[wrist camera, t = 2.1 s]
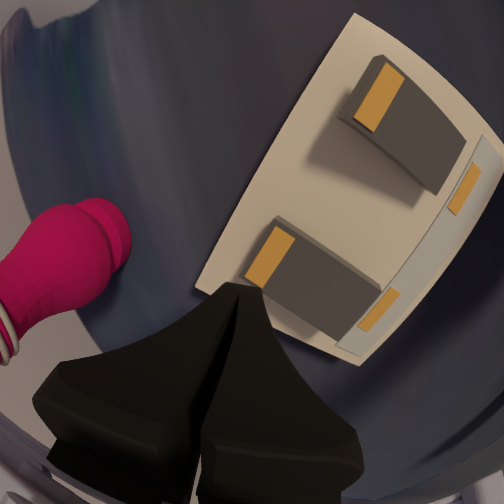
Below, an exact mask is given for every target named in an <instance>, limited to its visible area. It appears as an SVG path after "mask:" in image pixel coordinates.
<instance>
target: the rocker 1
mask: <svg viewBox="0 0 504 504" xmlns="http://www.w3.org/2000/svg"><path fill="white" fill-rule="evenodd" d="M238 277H239V278H241V279H242V280H244V281H245V282H247V283H248V284H250V285H251V286H254V287H260V288H261V289H262V291H263V294H264V295H266V296H268V297H269V298H271V299H272V300H274V301H275V302H277V303H278V304H280V305H281V306H283V307H284V308H286V309H287V310H289V311H290V312H292V313H293V314H295V315H296V316H298V317H299V318H301V319H303V320H304V321H306V322H307V323H309V324H310V325H312V326H313V327H315V328H317V329H318V330H320V331H321V332H323V333H324V334H326V335H328V336H329V337H331V338H332V339H334V340H335V341H337V342H338V341H339V340H340V339H341V338H342V337H343V336H344V335H345V334H346V333H347V332H348V331H349V330H350V328H351V327H352V326H353V325H354V324H355V323H356V322H357V321H358V320H359V318H360V317H361V316H362V315H363V314H364V313H365V312H366V310H367V309H368V308H369V307H370V306H371V305H372V303H373V302H374V301H375V300H376V299H377V297H378V296H379V295H380V294H381V293H382V290H381V287H380V284H378V283H377V282H376V281H374V280H373V279H371V278H370V277H369V276H367V275H366V274H364V273H363V272H362V271H360V270H359V269H357V268H356V267H354V266H353V265H352V264H350V263H349V262H347V261H346V260H344V259H343V258H342V257H340V256H339V255H337V254H336V253H334V252H333V251H331V250H330V249H328V248H327V247H326V246H324V245H323V244H321V243H320V242H318V241H317V240H315V239H314V238H312V237H311V236H309V235H308V234H306V233H305V232H303V231H302V230H300V229H299V228H297V227H296V226H294V225H293V224H291V223H290V222H288V221H286V220H285V219H283V218H282V217H280V216H279V215H277V216H276V217H275V218H274V219H273V220H272V222H271V224H270V225H269V227H268V229H267V230H266V232H265V233H264V235H263V237H262V238H261V240H260V242H259V243H258V245H257V247H256V248H255V250H254V252H253V253H252V255H251V256H250V258H249V260H248V261H247V263H246V265H245V266H244V268H243V270H242V271H241V273H240V274H239V276H238Z"/></svg>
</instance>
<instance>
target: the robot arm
mask: <svg viewBox="0 0 504 504" xmlns="http://www.w3.org/2000/svg"><path fill="white" fill-rule="evenodd" d="M32 402H33V405H34V408H35V410H36V412H37V413H38V415H39V416H40V418H41V419H42V420H43V422H44V423H45V424H46V426H47V427H48V428H49V429H50V430H51V432H52V433H53V434H54V436H55V437H56V438H57V440H56V442H55V443H54V445H53V447H52V448H51V449H49V448H48V447H46V446H45V445H43V444H42V443H40V442H39V441H37V440H36V439H35V438H33V437H32V436H30V435H29V434H28V433H26V432H25V431H23V430H22V429H21V428H20V427H18V426H17V425H16V424H14V423H13V422H12V421H11V420H9V419H8V418H7V417H6V416H4V414H2V413H1V412H0V504H90V503H88V502H86V501H85V500H83V499H82V498H80V497H79V496H77V495H76V494H75V493H74V492H72V491H71V490H69V489H68V488H66V487H64V486H63V485H61V484H60V483H58V482H57V481H55V480H54V479H52V475H51V473H52V474H54V475H55V476H57V477H58V478H60V479H62V480H63V481H65V482H67V483H68V484H70V485H72V486H73V487H75V488H77V489H79V490H81V491H82V492H84V493H86V494H88V495H90V496H92V497H94V498H96V499H98V500H100V501H103V502H105V503H107V504H190V499H191V495H192V490H193V485H194V480H195V476H196V472H197V467H198V463H199V459H200V454H201V468H202V471H201V474H200V478H199V482H198V486H197V490H196V496H198V502H199V504H341V492H342V491H343V490H345V489H346V488H348V487H349V486H350V485H352V484H353V483H354V482H356V481H357V480H358V479H359V478H360V477H361V476H362V474H363V473H364V460H363V453H362V450H361V446H360V442H359V439H358V436H357V433H356V430H355V429H354V428H353V427H352V426H350V425H349V424H348V423H347V422H346V421H344V420H343V419H342V418H341V417H340V416H338V415H337V414H336V413H335V412H334V411H333V410H331V409H330V408H329V407H328V406H327V405H326V404H325V403H324V402H323V401H322V400H321V399H320V398H319V397H318V396H317V395H316V393H315V392H314V391H313V390H312V389H311V387H310V386H309V385H308V384H307V383H306V381H305V380H304V379H303V378H302V376H301V375H300V374H299V373H298V371H297V370H296V368H295V367H294V365H293V364H292V362H291V361H290V359H289V358H288V356H287V354H286V353H285V351H284V349H283V347H282V346H281V344H280V342H279V340H278V338H277V336H276V333H275V331H274V329H273V327H272V324H271V322H270V319H269V316H268V314H267V310H266V307H265V303H264V299H263V291H262V289H261V288H260V287H254V286H248V285H243V284H237V283H231V282H225V283H223V284H222V285H221V286H220V287H219V288H218V289H217V290H216V291H215V292H214V293H212V294H211V295H210V296H209V297H208V298H207V299H206V300H204V301H203V302H202V303H201V304H199V305H198V306H197V307H196V308H194V309H193V310H192V311H190V312H189V313H187V314H186V315H185V316H183V317H182V318H180V319H179V320H177V321H176V322H174V323H173V324H171V325H170V326H168V327H166V328H164V329H163V330H161V331H159V332H157V333H155V334H153V335H151V336H149V337H146V338H144V339H142V340H139V341H137V342H135V343H132V344H130V345H127V346H125V347H122V348H119V349H116V350H113V351H109V352H106V353H102V354H98V355H94V356H90V357H85V358H80V359H75V360H70V361H63V362H60V363H59V364H58V365H57V366H56V367H55V368H54V370H53V371H52V372H51V373H50V374H49V376H48V377H47V378H46V380H45V381H44V382H43V384H42V385H41V386H40V388H39V389H38V390H37V391H36V393H35V394H34V396H33V398H32ZM50 472H51V473H50ZM428 504H504V477H503V474H502V471H501V470H498V471H496V472H494V473H492V474H490V475H488V476H486V477H484V478H482V479H480V480H478V481H476V482H474V483H473V484H471V485H470V486H468V487H466V488H465V489H463V491H462V492H459V493H457V494H454V495H451V496H449V497H446V498H443V499H440V500H437V501H434V502H431V503H428Z"/></svg>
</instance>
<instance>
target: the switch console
mask: <svg viewBox="0 0 504 504" xmlns="http://www.w3.org/2000/svg"><path fill="white" fill-rule="evenodd" d="M382 54H383V55H384V56H386V57H387V58H388V59H389V60H390V61H392V62H393V63H394V64H395V65H396V66H397V67H398V68H400V69H401V70H402V71H403V72H404V73H405V74H406V75H407V76H408V77H409V78H410V79H412V80H413V81H414V82H415V83H416V84H417V85H418V86H419V87H420V88H421V89H422V90H423V91H424V92H425V93H426V94H427V95H428V96H429V97H430V98H431V100H432V101H433V102H434V103H435V104H436V105H437V106H438V107H439V108H440V109H441V111H442V112H443V113H444V114H445V115H446V116H447V117H448V119H449V120H450V121H451V122H452V123H453V125H454V126H455V127H456V128H457V129H458V131H459V132H460V133H461V135H462V136H463V137H464V138H465V140H466V141H467V142H466V144H465V146H464V148H463V150H462V152H461V154H460V156H459V158H458V159H457V161H456V163H455V165H454V167H453V169H452V170H451V172H450V174H449V176H448V177H447V179H446V181H445V183H444V184H443V186H442V188H441V189H440V191H439V193H438V194H437V196H435V195H433V194H431V193H430V192H428V191H426V190H425V189H424V188H423V187H422V186H421V185H420V184H419V183H418V182H417V181H416V180H415V179H413V178H412V177H411V176H410V175H409V174H408V173H407V172H406V171H405V170H403V169H402V168H401V167H400V166H399V165H398V164H397V163H395V162H394V161H393V160H392V159H391V158H389V157H388V156H387V155H386V154H385V153H383V152H382V151H381V150H380V149H378V148H377V147H376V146H375V145H373V144H372V143H371V142H369V141H368V140H367V139H366V138H364V137H363V136H362V135H360V134H359V133H358V132H356V131H355V130H353V129H352V128H351V127H349V126H348V125H346V124H345V123H344V122H342V121H341V120H339V119H338V118H336V117H337V116H338V114H339V112H340V111H341V109H342V107H343V106H344V104H345V103H346V101H347V99H348V98H349V96H350V94H351V93H352V91H353V89H354V88H355V86H356V84H357V83H358V81H359V79H360V78H361V76H362V74H363V73H364V71H365V70H366V68H367V66H368V65H369V63H370V61H371V60H372V58H373V57H374V56H378V55H382ZM503 172H504V145H503V143H502V142H501V141H500V139H499V138H498V137H497V135H496V134H495V133H494V132H493V130H492V129H491V128H490V127H489V125H488V124H487V123H486V122H485V120H484V119H483V118H482V117H481V116H480V115H479V113H478V112H477V111H476V110H475V109H474V108H473V107H472V106H471V105H470V104H469V102H468V101H467V100H466V99H465V98H464V97H463V96H462V95H461V94H460V93H459V92H458V91H457V90H456V89H455V88H454V87H453V86H452V85H451V84H450V83H449V82H448V81H447V80H446V79H444V78H443V77H442V76H441V75H440V74H439V73H438V72H437V71H436V70H434V69H433V68H432V67H431V66H430V65H429V64H427V63H426V62H425V61H424V60H423V59H421V58H420V57H419V56H418V55H416V54H415V53H414V52H413V51H411V50H410V49H409V48H407V47H406V46H405V45H403V44H402V43H401V42H399V41H398V40H396V39H395V38H394V37H392V36H391V35H389V34H388V33H386V32H385V31H383V30H382V29H380V28H379V27H377V26H376V25H374V24H372V23H371V22H369V21H368V20H366V19H364V18H363V17H361V16H359V15H357V14H356V13H354V14H353V16H352V17H351V19H350V20H349V22H348V23H347V25H346V26H345V28H344V29H343V31H342V32H341V34H340V35H339V37H338V38H337V40H336V41H335V43H334V45H333V46H332V48H331V49H330V51H329V52H328V54H327V55H326V57H325V59H324V60H323V62H322V63H321V65H320V66H319V68H318V70H317V71H316V73H315V74H314V76H313V78H312V79H311V81H310V82H309V84H308V86H307V87H306V89H305V90H304V92H303V94H302V95H301V97H300V99H299V100H298V102H297V103H296V105H295V107H294V108H293V110H292V112H291V113H290V115H289V117H288V118H287V120H286V122H285V123H284V125H283V127H282V129H281V130H280V132H279V134H278V135H277V137H276V139H275V140H274V142H273V144H272V146H271V147H270V149H269V151H268V152H267V154H266V156H265V158H264V159H263V161H262V163H261V165H260V166H259V168H258V170H257V172H256V173H255V175H254V177H253V179H252V180H251V182H250V184H249V186H248V188H247V189H246V191H245V193H244V195H243V197H242V198H241V200H240V202H239V204H238V206H237V207H236V209H235V211H234V213H233V215H232V217H231V218H230V220H229V222H228V224H227V226H226V228H225V229H224V231H223V233H222V235H221V237H220V239H219V241H218V243H217V244H216V246H215V248H214V250H213V252H212V254H211V256H210V258H209V260H208V261H207V263H206V265H205V267H204V269H203V271H202V273H201V275H200V277H199V279H198V281H197V283H196V285H195V287H196V288H198V289H200V290H202V291H203V292H205V293H207V294H209V295H211V294H212V293H214V292H215V291H216V290H217V289H218V288H219V287H220V286H221V285H222V284H223V283H225V282H231V283H237V284H243V285H248V286H251V285H250V284H248V283H247V282H245V281H244V280H242V279H241V278H239V277H238V276H239V274H240V273H241V271H242V270H243V268H244V266H245V265H246V263H247V261H248V260H249V258H250V256H251V255H252V253H253V252H254V250H255V248H256V247H257V245H258V243H259V242H260V240H261V238H262V237H263V235H264V233H265V232H266V230H267V229H268V227H269V225H270V224H271V222H272V220H273V219H274V218H275V217H276V216H277V215H279V216H280V217H282V218H283V219H285V220H286V221H288V222H290V223H291V224H293V225H294V226H296V227H297V228H299V229H300V230H302V231H303V232H305V233H306V234H308V235H309V236H311V237H312V238H314V239H315V240H317V241H318V242H320V243H321V244H323V245H324V246H326V247H327V248H328V249H330V250H331V251H333V252H334V253H336V254H337V255H339V256H340V257H342V258H343V259H344V260H346V261H347V262H349V263H350V264H352V265H353V266H354V267H356V268H357V269H359V270H360V271H362V272H363V273H364V274H366V275H367V276H369V277H370V278H371V279H373V280H374V281H376V282H377V283H378V284H380V287H381V290H382V293H381V294H380V295H379V296H378V297H377V299H376V300H375V301H374V302H373V303H372V305H371V306H370V307H369V308H368V309H367V310H366V312H365V313H364V314H363V315H362V316H361V317H360V318H359V320H358V321H357V322H356V323H355V324H354V325H353V326H352V327H351V328H350V330H349V331H348V332H347V333H346V334H345V335H344V336H343V337H342V338H341V339H340V340H339V341H338V342H337V341H335V340H334V339H332V338H331V337H329V336H328V335H326V334H324V333H323V332H321V331H320V330H318V329H317V328H315V327H313V326H312V325H310V324H309V323H307V322H306V321H304V320H303V319H301V318H299V317H298V316H296V315H295V314H293V313H292V312H290V311H289V310H287V309H286V308H284V307H283V306H281V305H280V304H278V303H277V302H275V301H274V300H272V299H271V298H269V297H268V296H266V295H264V294H263V299H264V303H265V307H266V310H267V314H268V316H269V319H270V322H271V324H272V327H273V328H276V329H278V330H280V331H282V332H284V333H286V334H288V335H290V336H292V337H294V338H296V339H299V340H301V341H303V342H305V343H307V344H309V345H312V346H314V347H316V348H318V349H320V350H323V351H325V352H327V353H329V354H332V355H334V356H336V357H338V358H341V359H343V360H345V361H348V362H350V363H352V364H355V365H357V366H360V365H361V364H362V363H363V362H364V361H365V360H366V359H367V358H368V357H369V356H370V355H371V354H372V353H373V352H374V351H375V350H376V349H377V348H378V347H379V346H380V345H381V344H382V343H383V342H384V341H385V340H386V339H387V338H388V337H389V336H390V335H391V334H392V333H393V332H394V331H395V330H396V329H397V328H398V327H399V325H400V324H401V323H402V322H403V321H404V320H405V319H406V318H407V317H408V315H409V314H410V313H411V312H412V311H413V310H414V308H415V307H416V306H417V305H418V304H419V303H420V301H421V300H422V299H423V298H424V296H425V295H426V294H427V293H428V292H429V290H430V289H431V288H432V287H433V285H434V284H435V283H436V281H437V280H438V279H439V277H440V276H441V275H442V273H443V272H444V271H445V269H446V268H447V267H448V265H449V264H450V262H451V261H452V260H453V258H454V257H455V255H456V254H457V252H458V251H459V249H460V248H461V247H462V245H463V243H464V242H465V240H466V239H467V237H468V236H469V234H470V233H471V231H472V229H473V228H474V226H475V225H476V223H477V221H478V220H479V218H480V216H481V214H482V213H483V211H484V209H485V207H486V206H487V204H488V202H489V200H490V198H491V196H492V195H493V193H494V191H495V189H496V187H497V185H498V183H499V181H500V179H501V177H502V175H503Z"/></svg>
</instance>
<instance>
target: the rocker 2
mask: <svg viewBox="0 0 504 504" xmlns="http://www.w3.org/2000/svg"><path fill="white" fill-rule="evenodd" d="M336 118H338V119H339V120H341V121H342V122H344V123H345V124H346V125H348V126H349V127H351V128H352V129H353V130H355V131H356V132H358V133H359V134H360V135H362V136H363V137H364V138H366V139H367V140H368V141H369V142H371V143H372V144H373V145H375V146H376V147H377V148H378V149H380V150H381V151H382V152H383V153H385V154H386V155H387V156H388V157H389V158H391V159H392V160H393V161H394V162H395V163H397V164H398V165H399V166H400V167H401V168H402V169H403V170H405V171H406V172H407V173H408V174H409V175H410V176H411V177H412V178H413V179H415V180H416V181H417V182H418V183H419V184H420V185H421V186H422V187H423V188H424V189H425V190H426V191H428V192H430V193H431V194H433V195H435V196H437V194H438V193H439V191H440V189H441V188H442V186H443V184H444V183H445V181H446V179H447V177H448V176H449V174H450V172H451V170H452V169H453V167H454V165H455V163H456V161H457V159H458V158H459V156H460V154H461V152H462V150H463V148H464V146H465V144H466V142H467V141H466V140H465V138H464V137H463V136H462V135H461V133H460V132H459V131H458V129H457V128H456V127H455V126H454V125H453V123H452V122H451V121H450V120H449V119H448V117H447V116H446V115H445V114H444V113H443V112H442V111H441V109H440V108H439V107H438V106H437V105H436V104H435V103H434V102H433V101H432V100H431V98H430V97H429V96H428V95H427V94H426V93H425V92H424V91H423V90H422V89H421V88H420V87H419V86H418V85H417V84H416V83H415V82H414V81H413V80H412V79H410V78H409V77H408V76H407V75H406V74H405V73H404V72H403V71H402V70H401V69H400V68H398V67H397V66H396V65H395V64H394V63H393V62H392V61H390V60H389V59H388V58H387V57H386V56H384V55H383V54H382V55H378V56H374V57H373V58H372V60H371V61H370V63H369V65H368V66H367V68H366V70H365V71H364V73H363V74H362V76H361V78H360V79H359V81H358V83H357V84H356V86H355V88H354V89H353V91H352V93H351V94H350V96H349V98H348V99H347V101H346V103H345V104H344V106H343V107H342V109H341V111H340V112H339V114H338V116H337V117H336Z"/></svg>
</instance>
